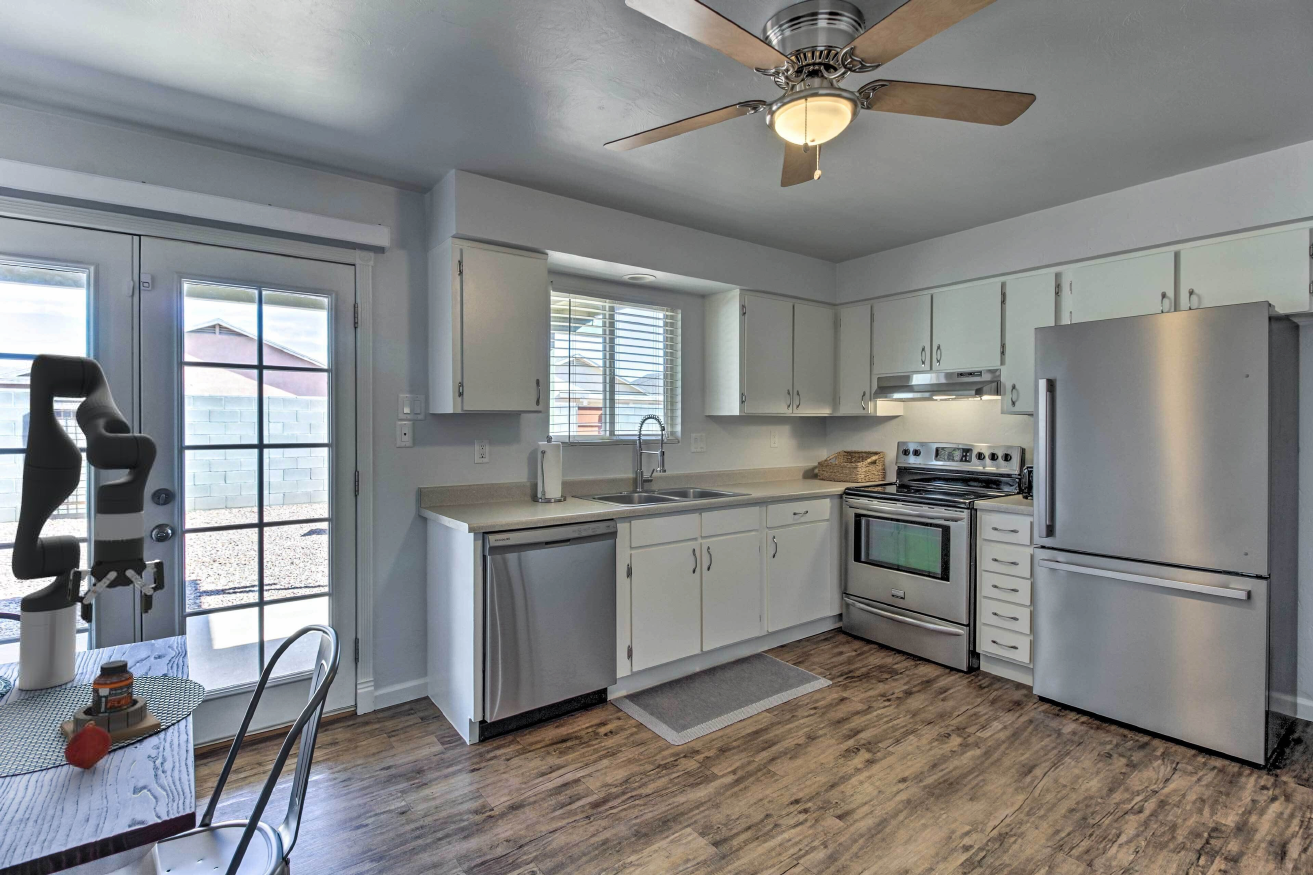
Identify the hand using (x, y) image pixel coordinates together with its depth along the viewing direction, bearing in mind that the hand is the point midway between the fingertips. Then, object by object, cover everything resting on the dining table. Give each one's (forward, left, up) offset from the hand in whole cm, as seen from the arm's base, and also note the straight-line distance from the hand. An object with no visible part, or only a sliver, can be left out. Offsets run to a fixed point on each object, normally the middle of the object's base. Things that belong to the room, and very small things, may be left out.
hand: (117, 617), depth 123 cm
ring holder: (+3, -1, -21) cm, 21 cm away
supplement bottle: (+2, -1, -20) cm, 20 cm away
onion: (+18, -7, -21) cm, 28 cm away
